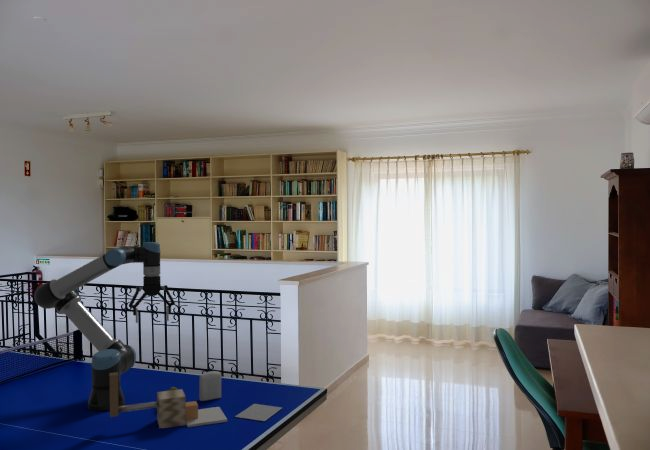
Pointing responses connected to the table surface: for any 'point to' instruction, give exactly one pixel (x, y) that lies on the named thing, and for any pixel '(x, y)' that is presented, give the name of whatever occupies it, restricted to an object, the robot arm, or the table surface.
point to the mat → (207, 417)
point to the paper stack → (259, 412)
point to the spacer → (191, 410)
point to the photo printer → (210, 385)
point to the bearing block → (171, 408)
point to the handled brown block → (116, 409)
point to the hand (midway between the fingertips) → (152, 321)
